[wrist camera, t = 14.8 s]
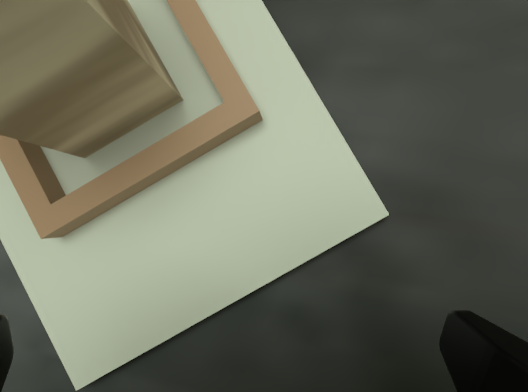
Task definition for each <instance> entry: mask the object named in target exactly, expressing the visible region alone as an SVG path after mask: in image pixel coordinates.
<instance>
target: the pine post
mask: <svg viewBox="0 0 528 392" xmlns="http://www.w3.org/2000/svg"><path fill="white" fill-rule="evenodd" d="M181 101H183V98H182V96H181V94H180V93H179V91H178V89H177V87H176V85H175V84H174V82H173V80H172V78H171V77H170V75H169V73H168V71H167V69H166V68H165V66H164V64H163V62H162V60H161V59H160V57H159V55H158V53H157V52H156V50H155V48H154V46H153V44H152V43H151V41H150V39H149V37H148V35H147V34H146V32H145V30H144V28H143V27H142V25H141V23H140V21H139V19H138V18H137V16H136V14H135V12H134V10H133V9H132V7H131V5H130V3H129V2H128V1H127V0H0V135H3V136H6V137H10V138H13V139H17V140H21V141H24V142H28V143H31V144H35V145H39V146H42V147H46V148H49V149H53V150H57V151H60V152H64V153H67V154H71V155H75V156H78V157H82V158H86V157H88V156H90V155H91V154H93V153H95V152H96V151H98V150H100V149H101V148H103V147H105V146H106V145H108V144H110V143H111V142H113V141H115V140H117V139H118V138H120V137H122V136H123V135H125V134H127V133H128V132H130V131H132V130H133V129H135V128H137V127H139V126H140V125H142V124H144V123H145V122H147V121H149V120H150V119H152V118H154V117H155V116H157V115H159V114H161V113H162V112H164V111H166V110H167V109H169V108H171V107H172V106H174V105H176V104H177V103H179V102H181Z"/></svg>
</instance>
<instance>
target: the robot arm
mask: <svg viewBox="0 0 528 392" xmlns="http://www.w3.org/2000/svg"><path fill="white" fill-rule="evenodd" d="M439 344H440V350H441V353H442V356H443V358H444V361H445V363H446V366H447V368H448V370H449V373H450V375H451V378H452V380H453V383H454V385H455V387H456V390H457V392H528V343H527V342H526V341H524V340H522V339H520V338H518V337H517V336H515V335H513V334H511V333H509V332H507V331H506V330H504V329H502V328H500V327H498V326H497V325H495V324H493V323H491V322H489V321H487V320H486V319H484V318H482V317H480V316H478V315H477V314H475V313H473V312H471V311H466V310H462V311H451V312H450V313H449V314H448V316H447V318H446V321H445V325H444V328H443V331H442V334H441V337H440V343H439ZM13 354H14V347H13V342H12V336H11V331H10V325H9V320H8V318H7V316H5V315H3V314H0V392H1V391H2V388H3V385H4V382H5V380H6V377H7V374H8V371H9V369H10V366H11V363H12V360H13Z"/></svg>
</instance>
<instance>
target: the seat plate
mask: <svg viewBox="0 0 528 392" xmlns="http://www.w3.org/2000/svg"><path fill="white" fill-rule="evenodd" d="M127 1H128V2H129V3H130V5H131V7H132V9H133V10H134V12H135V14H136V16H137V18H138V19H139V21H140V23H141V25H142V27H143V28H144V30H145V32H146V34H147V35H148V37H149V39H150V41H151V43H152V44H153V46H154V48H155V50H156V52H157V53H158V55H159V57H160V59H161V60H162V62H163V64H164V66H165V68H166V69H167V71H168V73H169V75H170V77H171V78H172V80H173V82H174V84H175V85H176V87H177V89H178V91H179V93H180V94H181V96H182V98H183V101H181V102H179V103H177V104H176V105H174V106H172V107H171V108H169V109H167V110H166V111H164V112H162V113H161V114H159V115H157V116H155V117H154V118H152V119H150V120H149V121H147V122H145V123H144V124H142V125H140V126H139V127H137V128H135V129H133V130H132V131H130V132H128V133H127V134H125V135H123V136H122V137H120V138H118V139H117V140H115V141H113V142H111V143H110V144H108V145H106V146H105V147H103V148H101V149H100V150H98V151H96V152H95V153H93V154H91V155H90V156H88V157H86V158H82V157H78V156H75V155H71V154H67V153H64V152H60V151H57V150H53V149H49V148H46V147H42V146H39V145H35V144H31V143H28V142H24V141H21V140H17V139H13V138H10V137H6V136H3V135H0V239H1V241H2V243H3V245H4V247H5V249H6V251H7V253H8V255H9V257H10V259H11V261H12V263H13V265H14V267H15V269H16V271H17V273H18V275H19V277H20V279H21V281H22V283H23V285H24V287H25V289H26V291H27V293H28V295H29V297H30V299H31V301H32V303H33V305H34V307H35V309H36V311H37V313H38V315H39V317H40V319H41V321H42V323H43V325H44V327H45V329H46V331H47V333H48V335H49V337H50V339H51V341H52V343H53V345H54V347H55V349H56V351H57V353H58V355H59V357H60V359H61V361H62V363H63V365H64V367H65V369H66V371H67V373H68V375H69V377H70V379H71V381H72V383H73V385H74V387H75V389H76V391H77V390H79V389H80V388H82V387H84V386H86V385H87V384H89V383H91V382H93V381H95V380H96V379H98V378H100V377H102V376H103V375H105V374H107V373H109V372H111V371H112V370H114V369H116V368H118V367H119V366H121V365H123V364H125V363H127V362H128V361H130V360H132V359H134V358H135V357H137V356H139V355H141V354H143V353H144V352H146V351H148V350H150V349H151V348H153V347H155V346H157V345H159V344H160V343H162V342H164V341H166V340H168V339H169V338H171V337H173V336H175V335H176V334H178V333H180V332H182V331H184V330H185V329H187V328H189V327H191V326H192V325H194V324H196V323H198V322H200V321H201V320H203V319H205V318H207V317H208V316H210V315H212V314H214V313H216V312H217V311H219V310H221V309H223V308H224V307H226V306H228V305H230V304H232V303H233V302H235V301H237V300H239V299H240V298H242V297H244V296H246V295H248V294H249V293H251V292H253V291H255V290H256V289H258V288H260V287H262V286H264V285H265V284H267V283H269V282H271V281H272V280H274V279H276V278H278V277H280V276H281V275H283V274H285V273H287V272H288V271H290V270H292V269H294V268H296V267H297V266H299V265H301V264H303V263H304V262H306V261H308V260H310V259H312V258H313V257H315V256H317V255H319V254H320V253H322V252H324V251H326V250H328V249H329V248H331V247H333V246H335V245H336V244H338V243H340V242H342V241H344V240H345V239H347V238H349V237H351V236H352V235H354V234H356V233H358V232H360V231H361V230H363V229H365V228H367V227H368V226H370V225H372V224H374V223H376V222H377V221H379V220H381V219H383V218H384V217H386V216H388V215H389V213H388V212H387V210H386V208H385V207H384V205H383V203H382V202H381V200H380V198H379V197H378V195H377V193H376V191H375V190H374V188H373V186H372V185H371V183H370V181H369V180H368V178H367V176H366V175H365V173H364V171H363V170H362V168H361V166H360V165H359V163H358V161H357V160H356V158H355V156H354V155H353V153H352V151H351V150H350V148H349V146H348V145H347V143H346V141H345V139H344V138H343V136H342V134H341V133H340V131H339V129H338V128H337V126H336V124H335V123H334V121H333V119H332V118H331V116H330V114H329V113H328V111H327V109H326V108H325V106H324V104H323V103H322V101H321V99H320V98H319V96H318V94H317V93H316V91H315V89H314V87H313V86H312V84H311V82H310V81H309V79H308V77H307V76H306V74H305V72H304V71H303V69H302V67H301V66H300V64H299V62H298V61H297V59H296V57H295V56H294V54H293V52H292V51H291V49H290V47H289V46H288V44H287V42H286V40H285V39H284V37H283V35H282V34H281V32H280V30H279V29H278V27H277V25H276V24H275V22H274V20H273V19H272V17H271V15H270V14H269V12H268V10H267V9H266V7H265V5H264V4H263V2H262V0H127Z"/></svg>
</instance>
